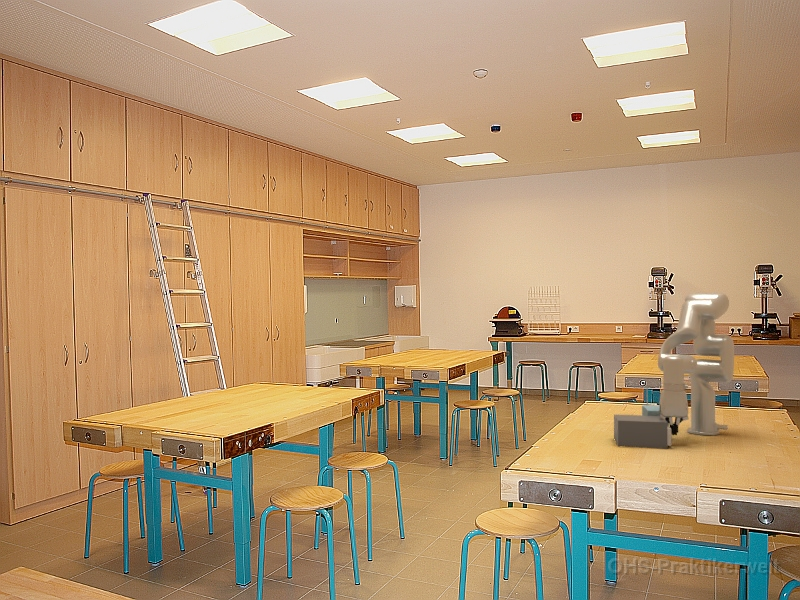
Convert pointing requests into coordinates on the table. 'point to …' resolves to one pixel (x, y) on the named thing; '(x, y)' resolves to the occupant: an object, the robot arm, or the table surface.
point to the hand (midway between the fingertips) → (673, 434)
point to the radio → (651, 409)
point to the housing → (640, 431)
